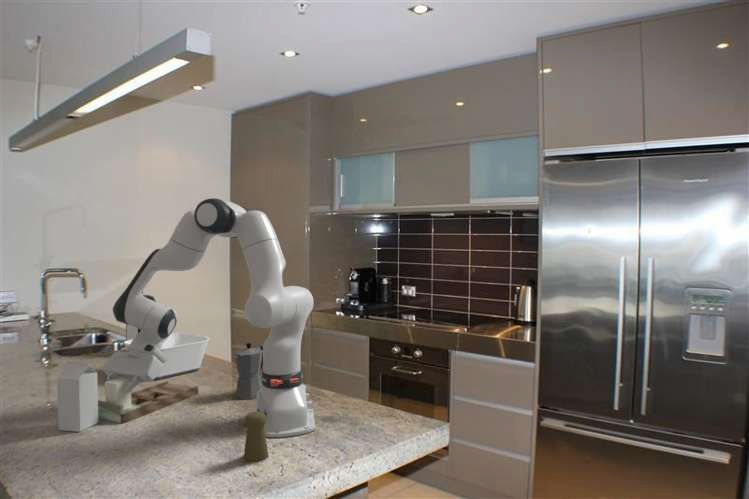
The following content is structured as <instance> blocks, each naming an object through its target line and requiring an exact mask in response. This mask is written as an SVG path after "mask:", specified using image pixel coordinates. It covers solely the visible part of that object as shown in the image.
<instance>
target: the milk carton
mask: <svg viewBox="0 0 749 499" xmlns="http://www.w3.org/2000/svg"><path fill="white" fill-rule="evenodd" d="M56 380H57V382H56V383H57V385H56V386H57V421H58V425H57V426H58V431H65V432H76V433H77V432H78V433H79V432H80V433H81V432H82V431H85V430H86V429H88V428H91V427H92V426H94V425H97V424H98V423H99V418H98V400H99V393H98V391H99V390H98V389H99V388H98V372H97V371H96V370H95V369H93V368H92V367H91V366H90V365H89V361H80V360H78V361H77V360H66V364H65V366H64V367H63V369H62V370H61V371H60V373H59V374H58V375H57V377H56Z"/></svg>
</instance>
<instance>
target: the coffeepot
mask: <svg viewBox="0 0 749 499" xmlns="http://www.w3.org/2000/svg"><path fill="white" fill-rule="evenodd" d="M245 345H246V348H244V349H240V350H239V349H238V350H237V351H235V352H234V357H235V363H236V364H235V365H236V370H237V373H238V379H237V383H236V391H235V398H237V399H239V400H254V399H257V391H258V390H259V389H260V388H261V387H262V379H261V375H260V371H261V370H263V345H259V346H256V347H254V348H253V347H252V343H250V342H247V343H246V344H245Z"/></svg>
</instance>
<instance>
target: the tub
mask: <svg viewBox="0 0 749 499" xmlns="http://www.w3.org/2000/svg"><path fill="white" fill-rule="evenodd" d="M132 340H133V339H131V340H127V341H126V340H124V341H123V342H122V344H123V346H124V347H121V348H120V349H119V350H121V349H127V348H128V346H129V345H130V343H131V342H132ZM209 342H210V338H209V337H208V336H206V335H202V334H199V335H198V334H192V333H188V332H172V333H171V334H170V336H169V337H168V338H167V339H166V340H165V341H164V342H163V344H162V346H161V349H160V351H161V352H162V353H163V354H164V355H165V356H166V357H167V360H166V361H165V362H164V363H162V364H163V365H162V368H161V370H160V372H159V373H158V375H157V376H156V378H155V379H154V380H157V381H159V380H161V379H167V377H168V378H171V377H176V376H181V375H186V374H189V373H193V372H197V371H198V370H200V368H201V365H202V362H203V358H204V355H205V353H206V350H207V346H208V344H209Z"/></svg>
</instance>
